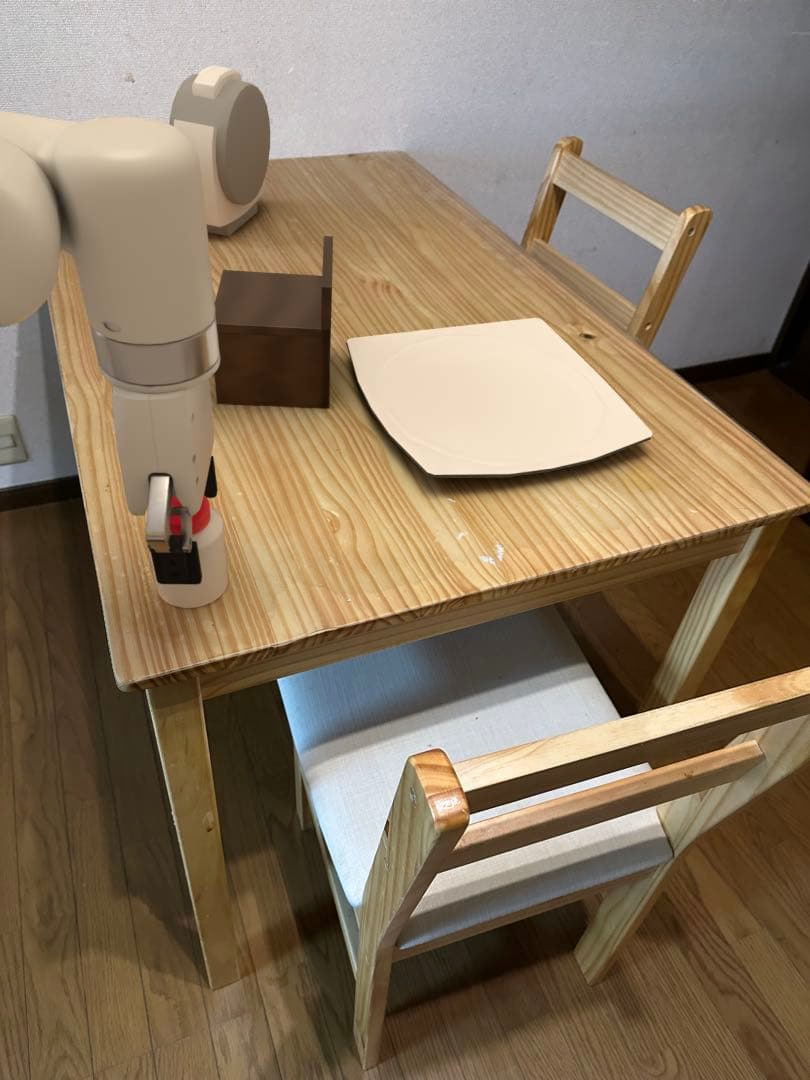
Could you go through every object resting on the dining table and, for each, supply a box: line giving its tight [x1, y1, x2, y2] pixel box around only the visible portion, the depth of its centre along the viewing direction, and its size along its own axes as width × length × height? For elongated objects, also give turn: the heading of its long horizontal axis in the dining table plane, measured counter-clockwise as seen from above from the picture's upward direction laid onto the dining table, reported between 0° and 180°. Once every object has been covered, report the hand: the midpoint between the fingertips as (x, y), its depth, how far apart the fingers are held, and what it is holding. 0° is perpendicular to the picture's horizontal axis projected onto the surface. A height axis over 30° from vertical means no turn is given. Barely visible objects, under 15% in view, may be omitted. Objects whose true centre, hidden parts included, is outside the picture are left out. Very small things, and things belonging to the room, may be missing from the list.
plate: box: [345, 317, 654, 479], centre depth 86 cm, size 29×29×3 cm
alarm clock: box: [168, 64, 271, 237], centre depth 110 cm, size 18×8×20 cm, turn 164°
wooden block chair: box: [213, 235, 334, 409], centre depth 82 cm, size 12×12×14 cm
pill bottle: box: [144, 495, 230, 609], centre depth 61 cm, size 6×6×8 cm
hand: (189, 535), depth 60 cm, fingers open, 9 cm apart
